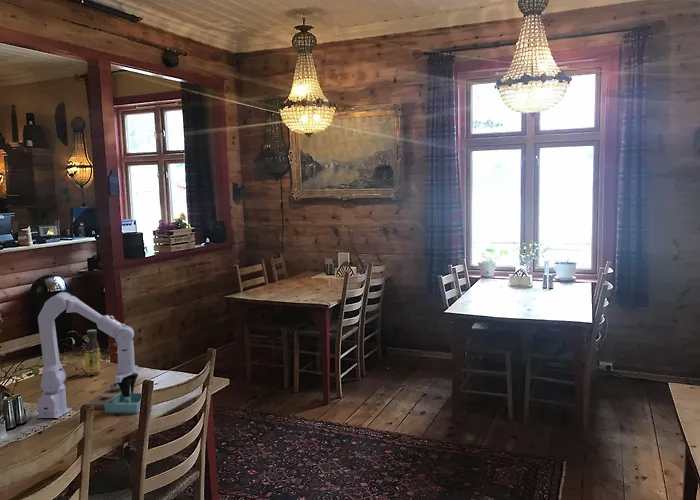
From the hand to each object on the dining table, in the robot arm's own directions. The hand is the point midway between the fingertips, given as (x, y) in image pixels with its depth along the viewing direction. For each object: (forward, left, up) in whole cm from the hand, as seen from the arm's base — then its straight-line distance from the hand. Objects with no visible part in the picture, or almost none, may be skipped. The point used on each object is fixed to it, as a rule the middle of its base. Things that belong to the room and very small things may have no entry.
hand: (127, 395), depth 212 cm
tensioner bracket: (+7, +11, -5) cm, 14 cm away
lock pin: (0, 0, -3) cm, 3 cm away
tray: (0, 0, -5) cm, 5 cm away
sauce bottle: (+38, +34, -5) cm, 51 cm away
